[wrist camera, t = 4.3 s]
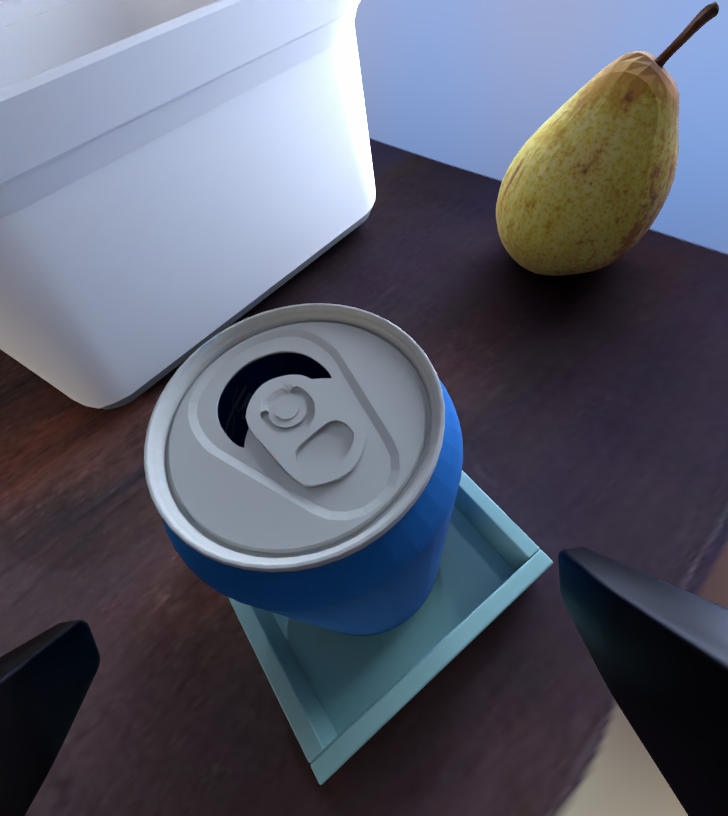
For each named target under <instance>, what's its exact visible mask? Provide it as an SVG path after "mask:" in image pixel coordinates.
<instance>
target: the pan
mask: <svg viewBox="0 0 728 816" xmlns="http://www.w3.org/2000/svg"><path fill="white" fill-rule="evenodd" d="M552 564H553V561H552V560H551V559H550V558H549V557H548V556H547V555H546V554H545V553H544V552H543V551H542V550H539V547H538V546H537V545H536V544H535V543H534V542H533V541H532V540H531V539H530V538H529V537H528V536H527V535H526V534H525V533H524V532H523V531H522V530H521V529H520V528H519V527H518V526H517V525H516V524H515V523H514V522H513V521H512V520H511V519H510V518H509V517H508V516H507V515H506V514H505V513H504V512H503V511H502V510H501V509H500V508H499V507H498V506H497V505H496V504H495V503H494V502H493V501H492V500H491V499H490V498H489V497H488V496H487V495H486V494H485V493H484V492H483V491H482V490H481V489H480V488H479V487H478V486H477V485H476V484H475V483H474V482H473V481H472V480H471V479H470V478H469V477H468V476H467V475H466V474H465V473H464V472H463V471H462V472H461V479H460V483H459V487H458V491H457V495H456V499H455V503H454V507H453V511H452V515H451V519H450V523H449V527H448V531H447V535H446V540H445V544H444V548H443V552H442V556H441V560H440V564H439V568H438V572H437V575H436V579H435V582H434V585H433V587H432V590H431V592H430V594H429V595H428V597H427V599H426V601H425V602H424V603H423V605H422V606H421V607H420V608H419V610H418V611H417V612H416V613H415V614H414V615H413V616H412V617H411V618H409V619H408V620H407V621H405V622H404V623H403V624H401V625H399V626H397V627H396V628H394V629H392V630H389V631H386V632H384V633H381V634H376V635H371V636H353V635H346V634H343V633H339V632H335V631H332V630H329V629H326V628H322V627H319V626H316V625H312V624H309V623H306V622H302V621H299V620H296V619H292V618H289V617H286V616H283V615H279V614H276V613H273V612H269V611H266V610H263V609H259V608H256V607H253V606H249V605H246V604H243V603H240V602H238V601H236V600H234V599H231V598H229V597H228V598H229V600H230V602H231V605H232V607H233V609H234V611H235V613H236V615H237V617H238V619H239V621H240V623H241V625H242V627H243V629H244V631H245V633H246V635H247V637H248V639H249V641H250V643H251V645H252V648H253V650H254V652H255V654H256V656H257V658H258V660H259V662H260V664H261V666H262V668H263V670H264V672H265V674H266V676H267V678H268V680H269V682H270V684H271V686H272V689H273V691H274V693H275V695H276V697H277V699H278V701H279V703H280V705H281V707H282V709H283V711H284V713H285V715H286V717H287V719H288V721H289V723H290V725H291V727H292V730H293V732H294V734H295V736H296V738H297V740H298V742H299V744H300V746H301V748H302V750H303V752H304V754H305V756H306V758H307V760H308V762H309V763H311V768H312V771H313V773H314V775H315V777H316V779H317V781H318V783H319V784H320V785H322V784H323V783H324V782H325V781H326V780H327V779H328V778H329V777H330V776H331V775H333V774H334V773H335V772H336V771H337V770H338V769H339V768H340V767H341V766H342V765H343V764H344V763H345V762H346V761H347V760H348V759H349V758H350V757H351V756H352V755H353V754H354V753H356V752H357V751H358V750H359V749H360V748H361V747H362V746H363V745H364V744H365V743H366V742H367V741H368V740H369V739H370V738H371V737H372V736H373V735H374V734H375V733H376V732H377V731H379V730H380V729H381V728H382V727H383V726H384V725H385V724H386V723H387V722H388V721H389V720H390V719H391V718H392V717H393V716H394V715H395V714H396V713H397V712H398V711H399V710H400V709H402V708H403V707H404V706H405V705H406V704H407V703H408V702H409V701H410V700H411V699H412V698H413V697H414V696H415V695H416V694H417V693H418V692H419V691H420V690H421V689H422V688H423V687H425V686H426V685H427V684H428V683H429V682H430V681H431V680H432V679H433V678H434V677H435V676H436V675H437V674H438V673H439V672H440V671H441V670H442V669H443V668H444V667H445V666H446V665H448V664H449V663H450V662H451V661H452V660H453V659H454V658H455V657H456V656H457V655H458V654H459V653H460V652H461V651H462V650H463V649H464V648H465V647H466V646H467V645H468V644H469V643H471V642H472V641H473V640H474V639H475V638H476V637H477V636H478V635H479V634H480V633H481V632H482V631H483V630H484V629H485V628H486V627H487V626H488V625H489V624H490V623H491V622H492V621H494V620H495V619H496V618H497V617H498V616H499V615H500V614H501V613H502V612H503V611H504V610H505V609H506V608H507V607H508V606H509V605H510V604H511V603H512V602H513V601H514V600H515V599H516V598H518V597H519V596H520V595H521V594H522V593H523V592H524V591H525V590H526V589H527V588H528V587H529V586H530V585H531V584H532V583H533V582H534V581H535V580H536V579H537V578H538V577H539V576H541V575H542V574H543V573H544V572H545V571H546V570H547V569H548V568H549V567H550V566H551V565H552Z"/></svg>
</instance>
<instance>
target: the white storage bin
mask: <svg viewBox="0 0 728 816" xmlns="http://www.w3.org/2000/svg"><path fill="white" fill-rule="evenodd" d="M360 1H361V0H0V349H1V350H2V351H4V352H5V353H6V354H8V355H9V356H11V357H12V358H14V359H15V360H17V361H18V362H20V363H21V364H22V365H24V366H25V367H27V368H28V369H30V370H31V371H33V372H34V373H35V374H37V375H38V376H40V377H41V378H43V379H44V380H45V381H47V382H48V383H50V384H51V385H53V386H54V387H55V388H57V389H58V390H60V391H61V392H62V393H64V394H65V395H67V396H68V397H70V398H71V399H72V400H74V401H76V402H78V403H80V404H82V405H84V406H88V407H93V408H103V409H113V408H117V407H121V406H124V405H126V404H127V403H129V402H131V401H133V400H135V399H136V398H137V397H138V396H140V395H141V394H142V393H144V392H145V391H146V390H147V389H149V388H150V387H151V386H153V385H154V384H155V383H157V382H158V381H159V380H160V379H162V378H163V377H164V376H166V375H167V374H168V373H169V372H171V371H172V370H173V369H175V368H176V367H177V366H178V365H180V364H181V363H182V362H184V361H185V360H186V359H188V358H189V357H190V356H191V355H192V354H193V353H194V352H195V351H196V350H197V349H198V348H200V347H201V346H202V345H203V344H204V343H206V342H207V341H208V340H210V339H211V338H212V337H214V336H215V335H217V334H218V333H220V332H222V331H223V330H225V329H226V328H228V327H229V326H230V325H231V324H233V323H234V322H235V321H237V320H238V319H239V318H240V317H242V316H243V315H244V314H246V313H247V312H248V311H250V310H251V309H252V308H253V307H255V306H256V305H257V304H259V303H260V302H261V301H262V300H264V299H265V298H266V297H268V296H269V295H270V294H271V293H273V292H274V291H275V290H277V289H278V288H279V287H281V286H282V285H283V284H284V283H286V282H287V281H288V280H290V279H291V278H292V277H293V276H295V275H296V274H297V273H299V272H300V271H301V270H302V269H304V268H305V267H306V266H308V265H309V264H310V263H312V262H313V261H314V260H315V259H317V258H318V257H319V256H321V255H322V254H323V253H324V252H326V251H327V250H328V249H330V248H331V247H332V246H333V245H335V244H336V243H337V242H339V241H340V240H341V239H343V238H344V237H345V236H346V235H348V234H349V233H350V232H352V231H353V230H354V229H355V228H357V227H358V226H359V225H361V224H362V223H363V222H364V221H365V220H366V219H367V218H368V216H369V214H370V211H371V209H372V206H373V204H374V201H375V182H374V174H373V166H372V158H371V150H370V143H369V135H368V127H367V119H366V111H365V104H364V96H363V88H362V80H361V72H360V64H359V56H358V49H357V41H356V34H355V26H354V19H355V14H356V10H357V6H358V4H359V3H360Z"/></svg>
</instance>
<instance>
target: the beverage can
mask: <svg viewBox="0 0 728 816" xmlns="http://www.w3.org/2000/svg"><path fill="white" fill-rule="evenodd" d="M462 463H463V441H462V434H461V429H460V423H459V420H458V417H457V414H456V411H455V408H454V405H453V402H452V400H451V398H450V396H449V394H448V392H447V390H446V388H445V387H444V385H443V384H442V383H441V381H440V380H439V378H438V376H437V373H436V371H435V370H434V368H433V366H432V364H431V362H430V360H429V358H428V357H427V356H426V354H425V353H424V351H423V350H422V349H421V347H420V346H419V345H418V344H417V343H416V342H415V341H414V340H413V339H412V338H411V337H410V336H409V335H408V334H407V333H405V332H404V331H403V330H401V329H400V328H399V327H398V326H396V325H394V324H393V323H391V322H389V321H388V320H386V319H384V318H382V317H380V316H377V315H375V314H373V313H370V312H367V311H364V310H361V309H358V308H354V307H349V306H344V305H337V304H325V303H314V304H299V305H291V306H286V307H281V308H276V309H272V310H269V311H265V312H262V313H259V314H256V315H254V316H251V317H249V318H246V319H244V320H242V321H240V322H238V323H236V324H234V325H232V326H230V327H228V328H226V329H225V330H223V331H222V332H220V333H218V334H217V335H215V336H214V337H212V338H211V339H210V340H208V341H207V342H206V343H204V344H203V345H202V346H201V347H200V348H198V349H197V350H196V351H195V352H194V353H193V354H192V355H191V356H190V357H189V358H188V359H187V360H186V361H185V362H184V363H183V364H182V365H181V366H180V367H179V369H178V370H177V371H176V372H175V374H174V375H173V376H172V378H171V379H170V380H169V382H168V383H167V385H166V387H165V388H164V390H163V392H162V393H161V395H160V397H159V399H158V401H157V403H156V405H155V408H154V410H153V412H152V415H151V418H150V421H149V425H148V428H147V433H146V439H145V445H144V468H145V476H146V482H147V485H148V489H149V492H150V495H151V498H152V500H153V502H154V504H155V506H156V508H157V510H158V512H159V514H160V515H161V517H162V519H163V522H164V526H165V529H166V532H167V534H168V536H169V538H170V540H171V542H172V544H173V546H174V548H175V550H176V551H177V552H178V554H179V555H180V556H181V558H182V559H183V560H184V562H185V563H186V565H187V566H188V567H189V568H190V569H191V570H192V571H193V572H194V573H195V574H196V575H197V576H198V577H199V578H200V579H201V580H202V581H203V582H204V583H206V584H207V585H209V586H210V587H212V588H213V589H215V590H216V591H218V592H219V593H221V594H223V595H225V596H227V597H229V598H231V599H234V600H236V601H238V602H240V603H243V604H246V605H249V606H253V607H256V608H259V609H263V610H266V611H269V612H273V613H276V614H279V615H283V616H286V617H289V618H292V619H296V620H299V621H302V622H306V623H309V624H312V625H316V626H319V627H322V628H326V629H329V630H332V631H335V632H339V633H343V634H346V635H353V636H371V635H376V634H381V633H384V632H386V631H389V630H392V629H394V628H396V627H397V626H399V625H401V624H403V623H404V622H405V621H407V620H408V619H409V618H411V617H412V616H413V615H414V614H415V613H416V612H417V611H418V610H419V608H420V607H421V606H422V605H423V603H424V602H425V601H426V599H427V597H428V595H429V594H430V592H431V590H432V587H433V585H434V582H435V579H436V575H437V572H438V568H439V564H440V560H441V556H442V552H443V548H444V544H445V540H446V535H447V531H448V527H449V523H450V519H451V515H452V511H453V507H454V503H455V499H456V495H457V491H458V487H459V483H460V479H461V472H462Z"/></svg>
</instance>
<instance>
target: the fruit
mask: <svg viewBox="0 0 728 816" xmlns="http://www.w3.org/2000/svg"><path fill="white" fill-rule="evenodd" d="M718 11H719V6H718V3H717V2H714V3H711V4H709V5H707V6H706V7H705V8H704V9H703V10H701V11H700V12H699V14H697V16H696V17H695V18H694V19H693V20H692V21H691V23H690V24H689V25H688V26H687V27H686V28H685V30H684V31H683V32H682V33H681V34H680V35H679V36H678V37H677V38H676V39H675V40H674V42H673V43H672V44H671V45H670V46H669V47H668V48H667V49H666V50H665V51H664V52H663V53H662V54H661V55H660V56H659V57H658V58H655V57H654V56H653V55H651V54H649V53H648V52H644V51H637V52H630V53H627V54H625V55H623V56H622V57H620V58H617V59H616V60H615V61H613V62H612V63H610V64H609V65H608V66H607V67H605V68H604V69H603V70H601V71H600V72H599V73H598V74H597V75H596V76H594V77H593V78H592V79H591V80H590V81H589V82H588V83H587V84H586V85H584V86H583V87H582V88H581V89H580V90H579V91H578V92H577V93H576V94H574V95H573V96H572V97H571V98H570V99H569V100H568V101H567V102H566V103H565V104H564V105H563V106H562V107H561V108H560V109H559V110H557V111H556V113H554V114H553V115H552V116H551V117H550V118H549V119H548V120H547V121H546V122H545V123H544V124H543V125H542V126H541V127H540V128H539V129H538V130H537V131H536V132H535V133H534V134H533V135H532V136H531V138H529V140H528V141H527V142H526V143H525V144H524V146H523V147H522V148H521V149H520V151H519V152H518V153H517V155H516V156H515V158H514V159H513V161H512V162H511V164H510V166H509V167H508V170H507V172H506V174H505V176H504V179H503V181H502V183H501V187H500V190H499V195H498V199H497V204H496V220H497V227H498V233H499V236H500V238H501V241H502V243H503V245H504V247H505V249H506V250H507V252H508V253H509V254H510V256H511V257H512V258H513V259H514V260H515V261H516V262H517V263H518V264H519V265H521V266H522V267H524V268H525V269H527V270H529V271H531V272H534V273H536V274H542V275H552V276H561V275H571V274H580V273H586V272H591V271H595V270H598V269H601V268H603V267H605V266H608V265H610V264H612V263H614V262H616V261H617V260H618V259H619V258H620V257H621V256H623V255H624V254H625V253H626V252H627V251H628V250H630V249H631V248H632V247H633V246H634V245H635V244H636V243H637V242H638V241H639V240H640V238H641V237H642V236H643V235H644V234H645V233H646V232H647V231H648V229H649V228H650V227H651V225H652V223H653V222H654V220H655V219H656V217H657V216H658V214H659V212H660V210H661V209H662V207H663V205H664V203H665V200H666V199H667V196H668V195H669V192H670V189H671V186H672V183H673V181H674V176H675V171H676V166H677V159H678V118H679V92H678V90H677V87H676V83H675V81H674V80H673V78H672V77H671V75H670V74H669V73H668V72H667V70H666V69H665V68H664V67H663V65H664V64H665V63H666V61H667V60H668V59H669V58H670V57H671V56H672V55H673V54H674V53H675V52H676V51H677V50H678V49H679V48H680V47H681V46H682V45H683V44H684V43H685V42H686V41H687V40H688V39H689V38H690V37H691V36H692V35H693V34H694V33H695V32H696V31H698V30H699V29H700V28H701V27H702V26H703V25H704V24H705V23H706V22H708V21H709V20H710V19H712V18H713V17H715V16H716V15H717V14H718Z"/></svg>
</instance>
